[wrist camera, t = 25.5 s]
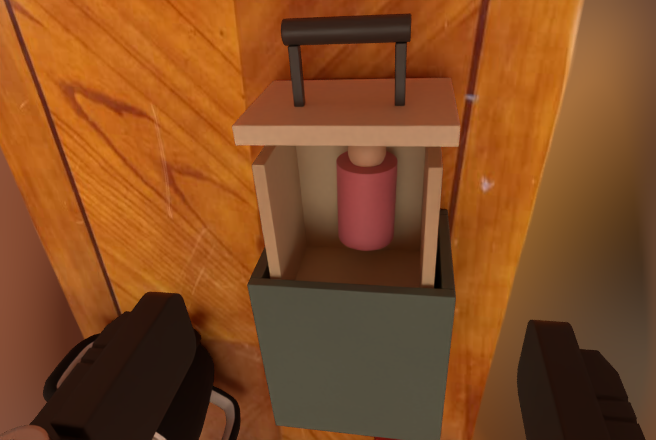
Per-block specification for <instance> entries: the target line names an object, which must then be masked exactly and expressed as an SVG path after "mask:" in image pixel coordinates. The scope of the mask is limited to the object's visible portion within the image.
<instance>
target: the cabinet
mask: <svg viewBox="0 0 656 440" xmlns="http://www.w3.org/2000/svg"><path fill="white" fill-rule="evenodd" d="M247 286H248V291H249V296H250V300H251V305H252V310H253V315H254V320H255V325H256V330H257V335H258V340H259V345H260V350H261V354H262V359H263V364H264V369H265V374H266V379H267V384H268V389H269V394H270V399H271V403H272V408H273V413H274V418H275V423H276V425H279V426H287V427H296V428H304V429H313V430H322V431H330V432H339V433H348V434H356V435H365V436H373V437H382V438H391V439H399V440H440V435H441V426H442V417H443V408H444V399H445V390H446V381H447V372H448V363H449V354H450V345H451V336H452V327H453V318H454V310H455V301H456V295H455V284H454V274H453V263H452V253H451V242H450V231H449V221H448V210H441V209H440V213H439V226H438V239H437V252H436V265H435V279H434V289H432V288H415V287H398V286H381V285H365V284H348V283H331V282H314V281H297V280H281V279H271V278H270V272H269V266H268V260H267V254H266V248H264V250H263V252H262V254H261V256H260V259H259V261H258V263H257V265H256V267H255V269H254V271H253V273H252V275H251V278H250V280H249V282H248V285H247Z"/></svg>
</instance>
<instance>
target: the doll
mask: <svg viewBox="0 0 656 440" xmlns="http://www.w3.org/2000/svg"><path fill="white" fill-rule="evenodd" d="M397 165H398V160H397V158H396V157H395V155H393V154H392V153H390V152H388V151H386V146H348V151H346V152H344V153H342V154H341V155H339V157H338V158H337V160H336V167H337V204H338V236H339V239H340V241H341V242H342V243H343V244H344V245H346V246H348V247H350V248H352V249H356V250H362V251H371V250H377V249H381V248H383V247H385V246H387V245H388V244H390V243H391V241H392V240H393V237H394V223H395V203H396V184H397Z"/></svg>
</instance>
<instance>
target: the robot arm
mask: <svg viewBox="0 0 656 440" xmlns="http://www.w3.org/2000/svg"><path fill="white" fill-rule="evenodd" d="M195 352H196V336H195V333H194V330H193V327H192V324H191V321H190V318H189V315H188V312H187V309H186V306H185V303H184V300H183V297H182V296H181V295H180V294H177V293H162V292H147V293H146V294H145V295H144V296H143V297H142V298H141V299H140V301H139V302H138V303H137V305H136V306H135V307H134V309H133V310H132V311H131V312H128V311H125V312H124V313H123V314H122V315H120V316H119V317H118V318H116V319H115V320H114V321H112V322H111V323H110V324H108V325H107V326H106V327H105V328H104V330H103V331H102V332H101V333H100V335H99V336H98V337H97V339H96V340H95V341H94V343H93V344H92V348H89V349H88V350H87V352H86V353H85V354H84V355H83V357H82V358H81V362H80V363H77V365H76V366H75V367H74V368H73V370H72V371H71V372H70V374H69V375H68V376H67V377H66V379H65V380H64V381H63V383H62V384H61V385H60V387H59V388H58V389H57V390H56V392H55V393H54V394H53V396H52V397H51V398H50V399H49V401H48V402H47V403H46V405H45V406H44V407H43V409H42V410H41V411H40V412H39V414H38V415H37V416H36V418H35V419H34V420H33V421H32V422H31V423H30V424H29V425H24V426H20V427H16V428H13V429H11V430H9V431H6V432H4V433H3V434H1V435H0V440H152V439H153V437H154V435H155V433H156V431H157V429H158V427H159V425H160V423H161V421H162V419H163V417H164V416H165V414H166V412H167V410H168V408H169V406H170V404H171V402H172V400H173V398H174V396H175V394H176V392H177V391H178V389H179V387H180V385H181V383H182V381H183V379H184V377H185V375H186V373H187V371H188V369H189V368H190V366H191V364H192V362H193V359H194V356H195ZM517 387H518V396H519V401H520V407H521V412H522V418H523V423H524V428H525V434H526V439H527V440H645V437H644V435H643V432H642V430H641V428H640V425H639V424H637V421H636V419H637V418H636V415H635V413H634V411H633V408H632V406H631V403H630V402H628V396H627V394H626V391H625V389H624V386H623V384H622V381H621V379H620V376H619V374H618V372H617V371H616V370H615V369H614V368H613V367H612V366H611V365H610V363H609V362H608V361H607V360H606V359H605V358H604V357H603V356H602V355H601V354H600V352H599V351H597V350H584V349H579V346H578V343H577V340H576V337H575V334H574V331H573V329H572V326H571V325H570V324H569V323H568V322H556V321H541V320H530V321H529V322H528V325H527V329H526V334H525V339H524V343H523V347H522V352H521V357H520V361H519V365H518V373H517Z"/></svg>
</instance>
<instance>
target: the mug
mask: <svg viewBox="0 0 656 440" xmlns="http://www.w3.org/2000/svg"><path fill="white" fill-rule="evenodd" d="M193 330H194V333H195V336H196V352H195V356H194V359H193V362H192V364H191V366H190V368H189V369H188V371H187V373H186V375H185V377H184V379H183V381H182V383H181V385H180V387H179V389H178V391H177V392H176V394H175V396H174V398H173V400H172V402H171V404H170V406H169V408H168V410H167V412H166V414H165V416H164V417H163V419H162V421H161V423H160V425H159V427H158V429H157V431H156V433H155V435H154V437H153V439H152V440H199V437H200V434H201V431H202V428H203V424H204V420H205V417H206V413H207V409H208V405H209V402H211V403H213V404H215V405H217V406H219V407H220V408H222V409H223V410H224V411H225V414H226V427H225V431H224V434H223V437H222V440H237V436H238V433H239V429H240V408H239V405H238V403H237V401H236V400H235V399H234V398H233V397H232V396H231V395H229V394H228V393H226V392H224V391H222V390H221V389H219V388H217V387H215V386H213V382H214V363H213V360H212V357H211V356H210V354H209V353H208V351H207V350H206V349H205V348H204V347H203V346H202V345H201V344H199V342H200V340H201V335H200V334H199V332H198V331H196V330H195V329H193ZM99 335H100V334H96V335H93V336H91V337H89V338H87V339H85V340H83V341H81V342H80V343H79V344H77V345H76V346H75V347H74V348H73V349H72V350H71V351H70V352H69V353H68V354H67V355H66V356H65V357H64V359H63V360H62V361H61V362H60V363H59V364H58V366H57V367H56V368H55V370H54V371H53V372H52V373H51V375H50V376H49V377H48V379H47V380H46V382H45V386H44V390H43V396H44V399H45V400H46V401H47V402H48V401H49V399H50V398H51V397H52V396H53V394H54V393H55V392H56V390H57V389H58V388H59V387H60V385H61V384H62V383H63V381H64V380H65V379H66V377H67V376H68V375H69V374H70V372H71V371H72V370H73V368H74V367H75V366H76V365H77V363H80V362H81V358H82V357H83V355H84V354H85V353H86V352H87V350H88V349H89V348H92V344H93V343H94V341H95V340H96V339H97V337H98V336H99Z"/></svg>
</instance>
